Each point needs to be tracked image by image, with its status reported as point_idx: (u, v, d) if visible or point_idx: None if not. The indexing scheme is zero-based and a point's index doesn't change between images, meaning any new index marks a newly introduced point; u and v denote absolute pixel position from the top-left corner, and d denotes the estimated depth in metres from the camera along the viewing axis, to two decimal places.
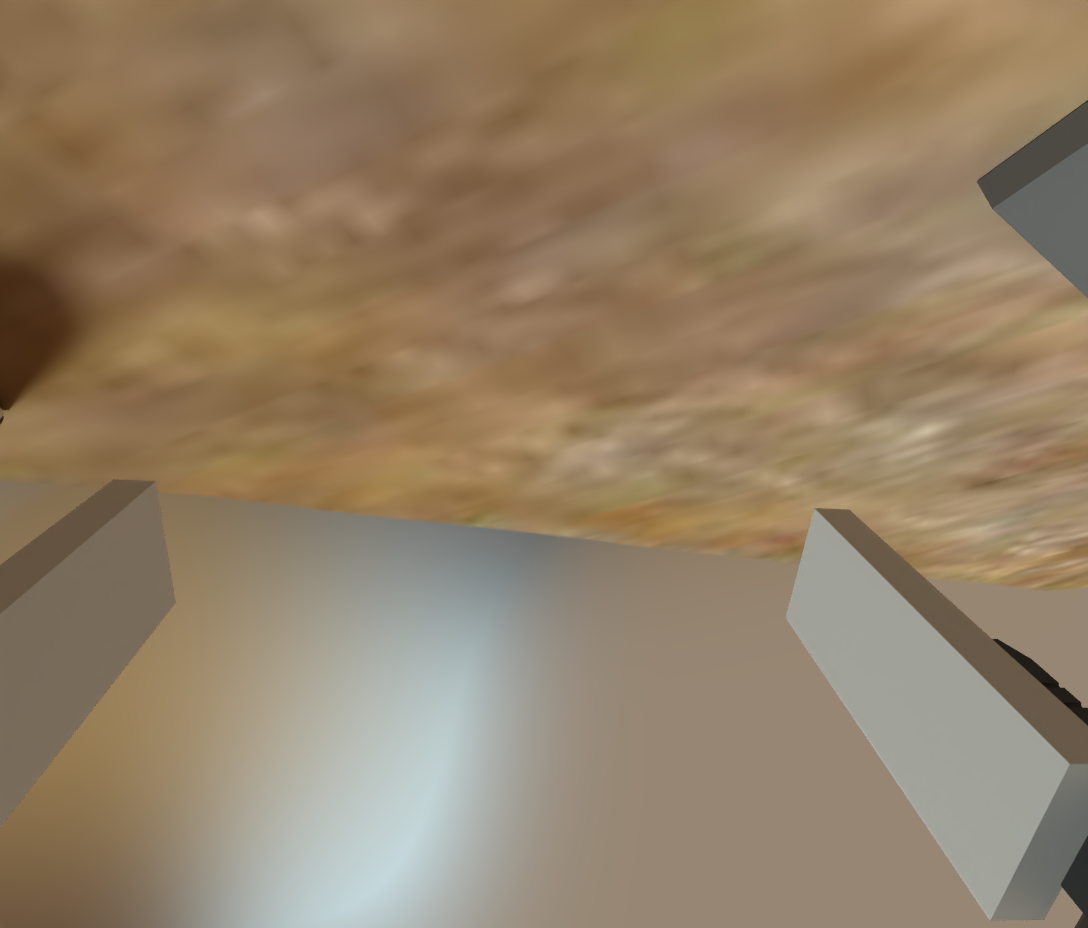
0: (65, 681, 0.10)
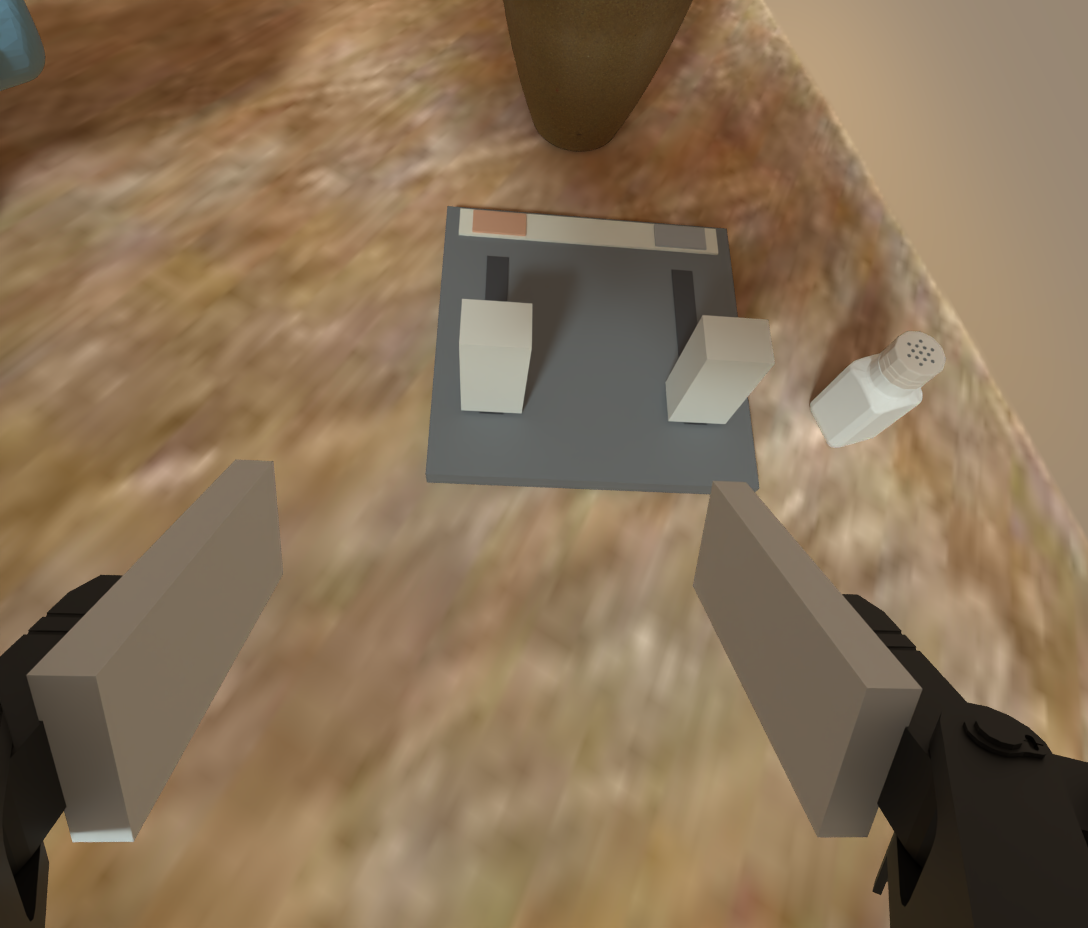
0: (219, 633, 0.11)
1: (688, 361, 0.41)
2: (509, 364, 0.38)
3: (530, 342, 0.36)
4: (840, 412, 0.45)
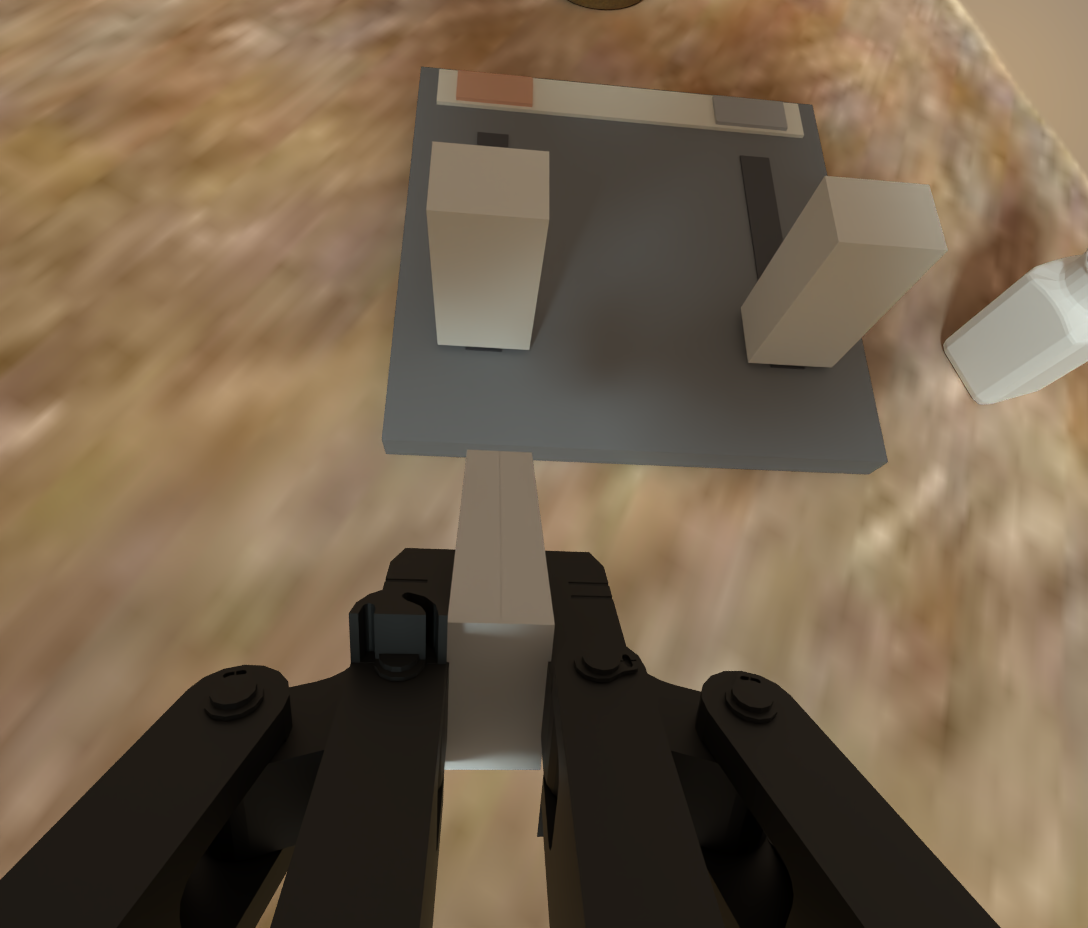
0: None
1: (792, 260, 0.26)
2: (512, 255, 0.23)
3: (547, 210, 0.22)
4: (1004, 349, 0.30)
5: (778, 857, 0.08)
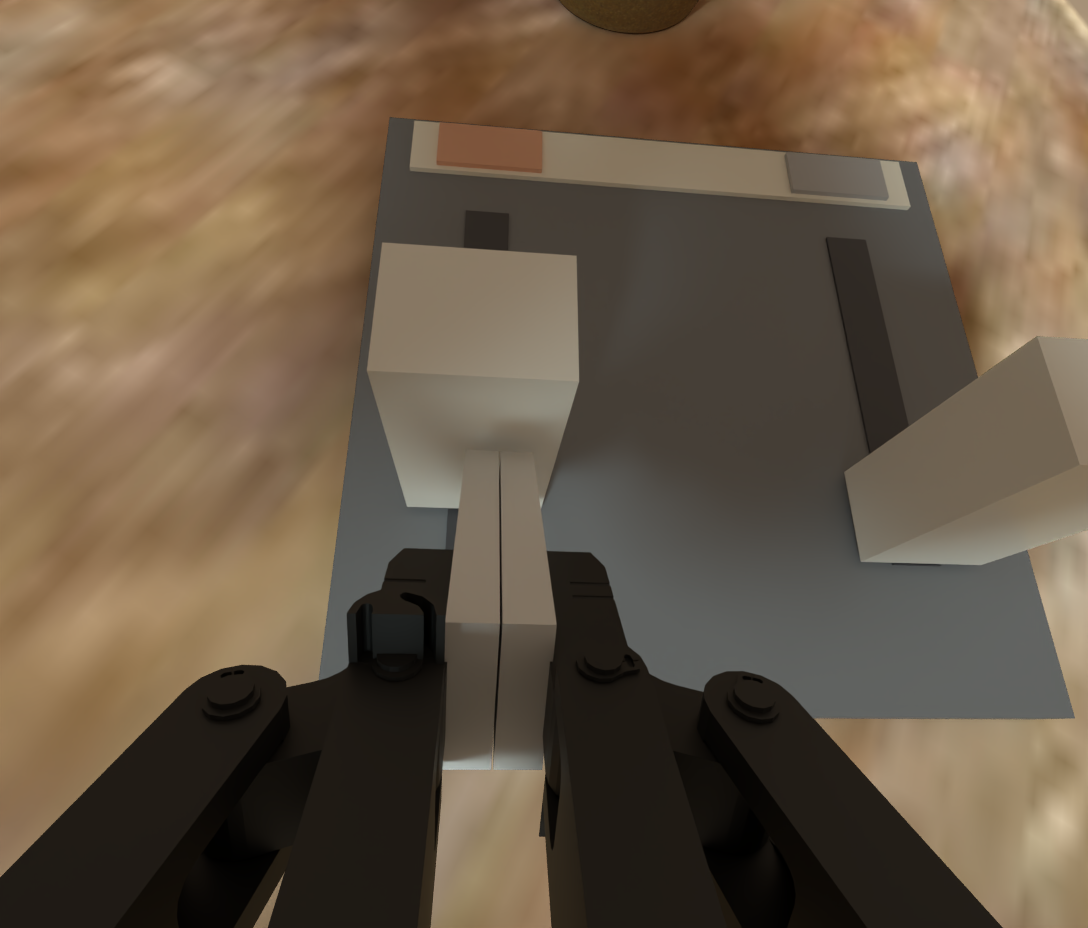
0: None
1: (955, 448, 0.16)
2: (515, 421, 0.14)
3: (575, 363, 0.13)
4: None
5: (780, 857, 0.08)
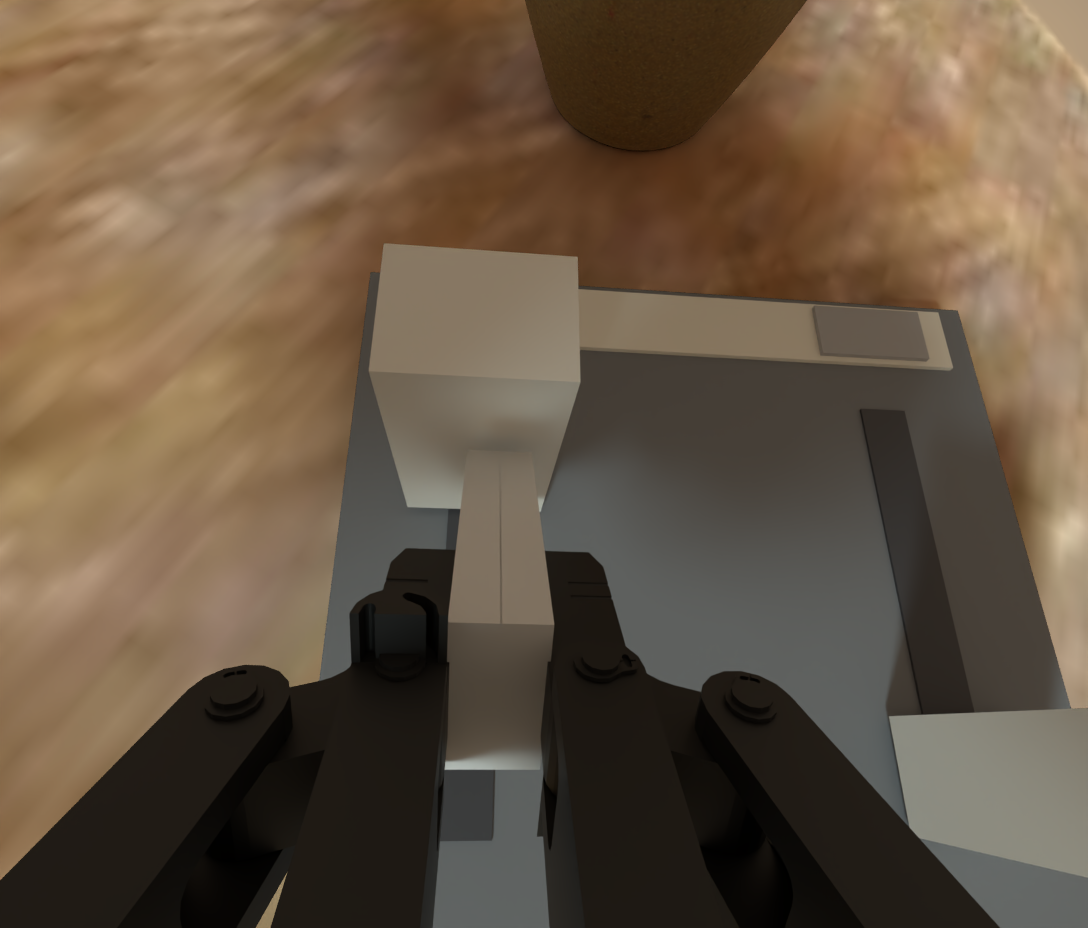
0: None
1: (1040, 777, 0.14)
2: (516, 421, 0.14)
3: (576, 364, 0.13)
4: None
5: (778, 857, 0.08)
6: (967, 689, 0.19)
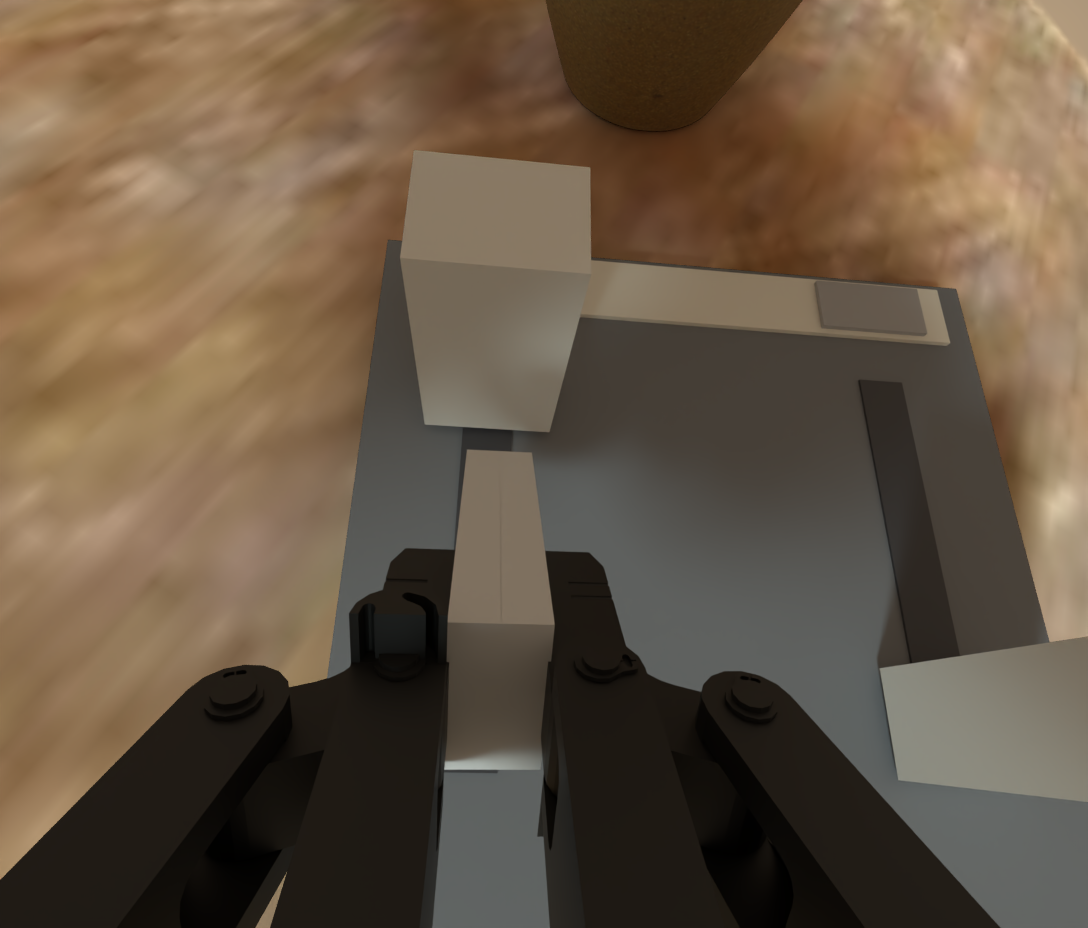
0: None
1: (1019, 710, 0.14)
2: (531, 320, 0.16)
3: (587, 259, 0.14)
4: None
5: (778, 857, 0.08)
6: (956, 646, 0.20)
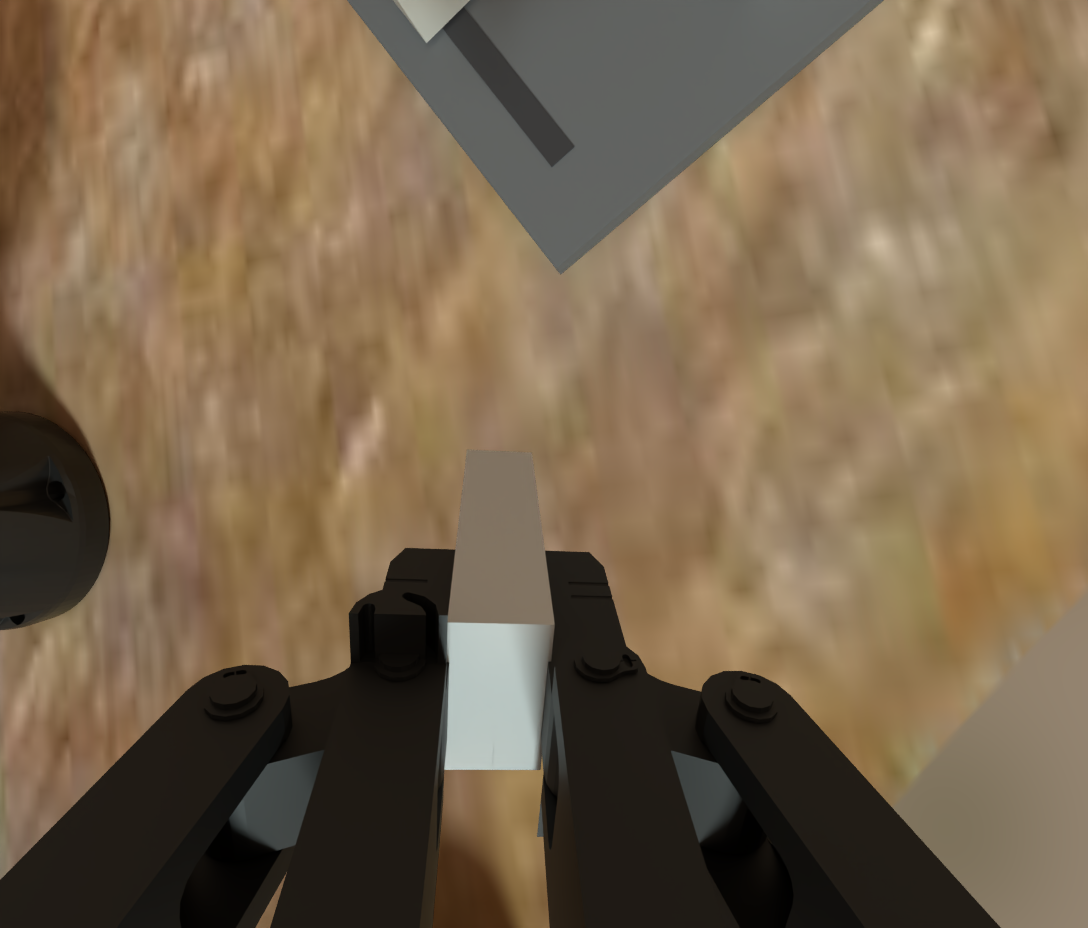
0: None
1: None
2: None
3: None
4: None
5: (778, 857, 0.08)
6: None
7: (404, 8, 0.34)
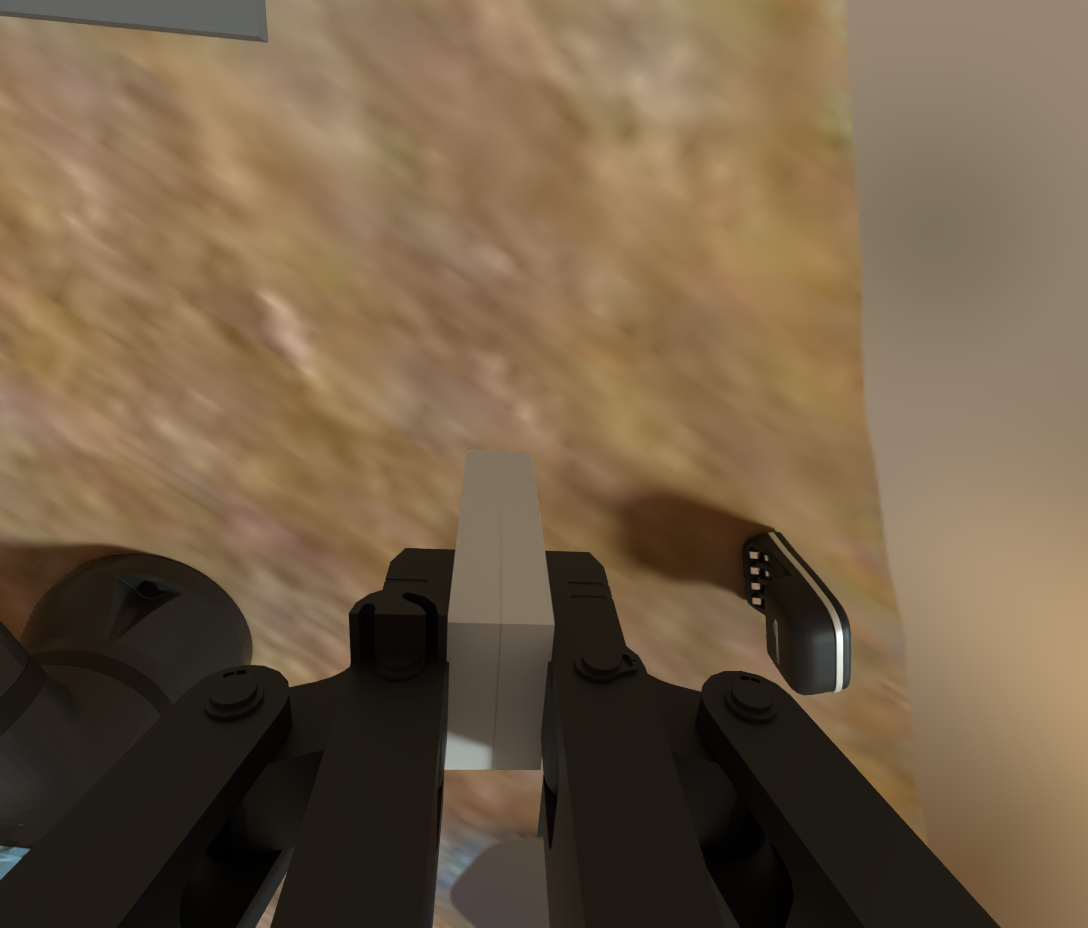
0: None
1: None
2: None
3: None
4: None
5: (778, 857, 0.08)
6: None
7: None
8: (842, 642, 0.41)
